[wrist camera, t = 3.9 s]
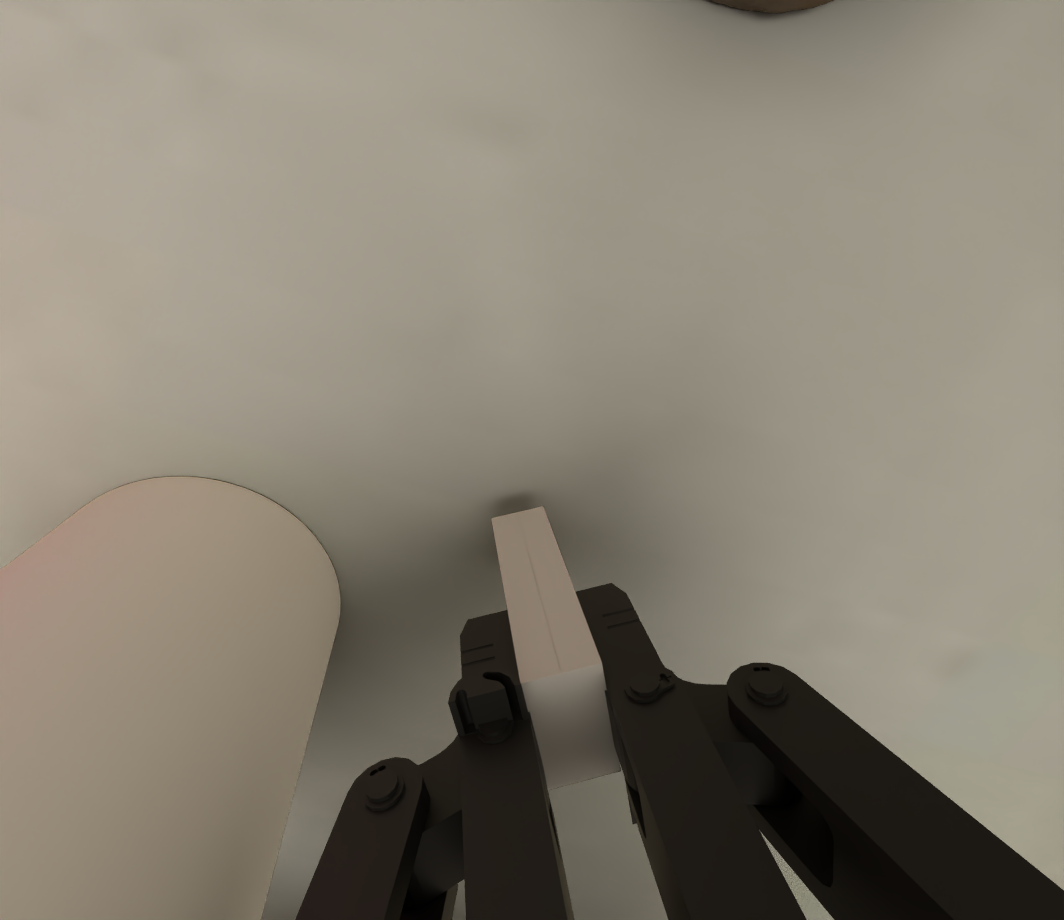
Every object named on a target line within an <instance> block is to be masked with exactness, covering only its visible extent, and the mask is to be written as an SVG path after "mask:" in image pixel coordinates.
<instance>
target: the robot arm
mask: <svg viewBox="0 0 1064 920" xmlns="http://www.w3.org/2000/svg"><path fill="white" fill-rule="evenodd" d="M491 520H492V525H493V531H494V537H495V542H496V548H497V554H498V559H499V565H500V571H501V576H502V582H503V588H504V593H505V599H506V605H507V610H505V611H501V612H497V613H493V614H489V615H485V616H481V617H477V618H473V619H468V621H467V623H466V625H465V627H464V629H463V631H462V633H461V635H460V646H461V665H462V679H461V680H459V681H458V682H457V684H456V685H455V687H454V688H453V689H452V691H451V693H450V697H449V702H448V704H449V707H450V710H451V713H452V716H453V720H454V723H455V726H456V729H457V732H458V735H457V737H456V738H455V740H454V741H453V742H452V743H451V744H450V745H449V746H448V747H447V748H446V749H445V750H444V751H442V752H441V753H439V754H438V755H436V756H435V757H433V758H431V759H429V760H428V761H426V762H424V763H422V764H420V765H419V766H418V765H417V764H415V763H414V762H412V761H411V760H409V759H406V758H398V757H395V758H390V759H386V760H382V761H380V762H378V763H376V764H374V765H372V766H371V767H369V768H367V769H366V770H365V771H364V772H363V773H362V774H361V775H360V776H359V777H358V778H357V779H356V780H355V781H354V783H353V785H352V786H351V788H350V790H349V791H348V793H347V796H346V798H345V800H344V803H343V805H342V808H341V810H340V813H339V815H338V817H337V820H336V822H335V825H334V827H333V830H332V832H331V834H330V837H329V839H328V842H327V844H326V847H325V849H324V852H323V854H322V856H321V859H320V861H319V864H318V866H317V869H316V871H315V873H314V876H313V878H312V881H311V883H310V886H309V888H308V890H307V893H306V895H305V898H304V900H303V903H302V905H301V907H300V910H299V912H298V915H297V917H296V920H452V916H453V911H454V906H455V900H456V895H457V890H458V883H459V882H460V881H462V880H463V879H465V903H466V920H574V916H573V911H572V905H571V900H570V895H569V890H568V885H567V880H566V875H565V870H564V865H563V860H562V855H561V850H560V845H559V840H558V834H557V829H556V824H555V819H554V815H553V811H552V807H551V803H550V798H549V793H548V790H552V789H555V788H559V787H563V786H567V785H570V784H574V783H578V782H582V781H585V780H589V779H593V778H597V777H600V776H604V775H608V774H612V773H615V772H619V771H621V768H622V771H623V773H624V776H625V782H626V788H627V793H628V799H629V805H630V811H631V816H632V822H633V824H636V823H637V825H638V828H639V831H640V834H641V837H642V841H643V844H644V847H645V850H646V853H647V856H648V859H649V862H650V865H651V868H652V871H653V874H654V877H655V880H656V883H657V886H658V889H659V892H660V895H661V898H662V901H663V904H664V907H665V910H666V913H667V916H668V919H669V920H806V918H805V916H804V914H803V912H802V910H801V908H800V906H799V904H798V903H797V901H796V899H795V897H794V895H793V893H792V891H791V889H790V887H789V886H788V884H787V882H786V880H785V878H784V876H783V874H782V872H781V871H780V869H779V867H778V865H777V863H776V861H775V859H774V857H773V855H772V854H771V852H770V850H769V848H768V846H767V844H766V842H765V840H764V838H763V837H762V835H761V833H760V831H761V832H762V834H763V835H764V836H765V837H766V838H767V840H768V841H769V842H770V843H771V844H772V846H773V847H774V848H775V849H776V850H777V852H778V853H779V854H780V855H781V856H782V858H783V859H784V860H785V861H786V862H787V864H788V865H789V866H790V867H791V868H792V869H793V871H794V872H795V873H796V874H797V875H798V877H799V878H800V879H801V880H802V881H803V883H804V884H805V885H806V886H807V887H808V889H809V890H810V891H811V892H812V893H813V895H814V896H815V897H816V898H817V899H818V901H819V902H820V903H821V904H822V905H823V907H824V908H825V909H826V910H827V911H828V913H829V914H830V915H831V916H832V917H833V919H834V920H1064V890H1063V889H1061V888H1060V887H1059V886H1058V885H1056V884H1055V883H1054V882H1053V881H1051V880H1050V879H1049V878H1048V877H1046V876H1045V875H1044V874H1043V873H1041V872H1040V871H1039V870H1038V869H1036V868H1035V867H1034V866H1033V865H1031V864H1030V863H1029V862H1028V861H1027V860H1025V859H1024V858H1023V857H1022V856H1020V855H1019V854H1018V853H1017V852H1015V851H1014V850H1013V849H1012V848H1010V847H1009V846H1008V845H1007V844H1005V843H1004V842H1003V841H1002V840H1000V839H999V838H998V837H997V836H995V835H994V834H993V833H992V832H991V831H989V830H988V829H987V828H986V827H984V826H983V825H982V824H981V823H979V822H978V821H977V820H976V819H974V818H973V817H972V816H971V815H969V814H968V813H967V812H966V811H964V810H963V809H962V808H961V807H959V806H958V805H957V804H956V803H955V802H953V801H952V800H951V799H950V798H948V797H947V796H946V795H945V794H943V793H942V792H941V791H940V790H938V789H937V788H936V787H935V786H933V785H932V784H931V783H930V782H928V781H927V780H926V779H925V778H924V777H922V776H921V775H920V774H919V773H917V772H916V771H915V770H914V769H912V768H911V767H910V766H909V765H907V764H906V763H905V762H904V761H902V760H901V759H900V758H899V757H897V756H896V755H895V754H894V753H892V752H891V751H890V750H889V749H888V748H886V747H885V746H884V745H883V744H881V743H880V742H879V741H878V740H876V739H875V738H874V737H873V736H871V735H870V734H869V733H868V732H866V731H865V730H864V729H863V728H861V727H860V726H859V725H858V724H856V723H855V722H854V721H853V720H852V719H850V718H849V717H848V716H847V715H845V714H844V713H843V712H842V711H840V710H839V709H838V708H837V707H835V706H834V705H833V704H832V703H830V702H829V701H828V700H827V699H825V698H824V697H823V696H822V695H820V694H819V693H818V692H817V691H816V690H814V689H813V688H812V687H811V686H809V685H808V684H807V683H806V682H804V681H803V680H802V679H801V678H799V677H798V676H797V675H796V674H794V673H792V672H791V671H789V670H787V669H785V668H784V667H781V666H778V665H774V664H770V663H751V664H748V665H744V666H741V667H739V668H738V669H737V670H735V671H734V672H733V673H731V675H730V677H729V679H728V681H727V685H707V684H695V683H691V682H687V681H684V680H682V679H680V678H678V677H677V676H676V675H675V674H674V673H673V672H672V671H671V670H669V669H667V668H665V666H664V665H663V664H662V662H661V660H660V658H659V656H658V654H657V652H656V650H655V648H654V646H653V644H652V643H651V641H650V639H649V637H648V635H647V633H646V631H645V629H644V627H643V625H642V623H641V621H640V620H639V617H638V615H637V613H636V611H635V610H634V608H633V606H632V604H631V602H630V600H629V598H628V596H627V594H626V593H625V592H624V591H622V590H621V589H619V588H618V587H616V586H615V585H614V584H612V583H610V584H606V585H602V586H597V587H593V588H589V589H585V590H581V591H577V592H575V590H574V587H573V584H572V582H571V579H570V576H569V574H568V571H567V568H566V566H565V563H564V560H563V558H562V555H561V552H560V550H559V547H558V544H557V542H556V539H555V536H554V534H553V531H552V528H551V526H550V523H549V520H548V518H547V515H546V512H545V510H544V507H543V506H542V507H537V508H533V509H529V510H525V511H520V512H516V513H512V514H507V515H503V516H499V517H495V518H491ZM619 762H620V763H619ZM620 765H621V768H620ZM759 830H760V831H759Z"/></svg>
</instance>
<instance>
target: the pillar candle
mask: <svg viewBox="0 0 1064 920" xmlns="http://www.w3.org/2000/svg"><path fill="white" fill-rule="evenodd" d="M711 1H713V2H716V3H720V4H726V5H727V6H729V7H734V8H740V9H743V10H753V11H761V12H763V11H766V12H767V13H783V12H787V11H789V10H799V9H801V10H802V9H807V8H813V7H816V6H819V5H823V4H825V3H828V2H831V1H833V0H711Z"/></svg>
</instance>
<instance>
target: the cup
mask: <svg viewBox="0 0 1064 920" xmlns="http://www.w3.org/2000/svg"><path fill="white" fill-rule="evenodd" d="M340 604H341V599H340V589H339V584H338V580H337V576H336V573H335V570H334V567H333V565H332V563H331V561H330V559H329V557H328V555H327V553H326V552H325V550H324V548H323V547H322V545H321V544H320V543H319V541H318V540H317V539H316V537H315V536H314V535H313V534H312V533H311V531H310V530H309V529H308V528H307V527H306V526H305V525H304V524H303V523H302V522H301V521H299V520H298V519H297V518H296V517H295V516H294V515H292V514H291V513H290V512H288V511H287V510H286V509H284V508H283V507H281V506H280V505H278V504H276V503H275V502H273V501H272V500H270V499H268V498H266V497H264V496H262V495H260V494H258V493H255V492H253V491H251V490H248V489H246V488H243V487H240V486H237V485H234V484H230V483H226V482H222V481H218V480H213V479H206V478H199V477H184V476H182V477H161V478H152V479H147V480H142V481H137V482H133V483H130V484H127V485H123V486H121V487H118V488H116V489H113V490H111V491H109V492H107V493H105V494H103V495H101V496H99V497H97V498H95V499H94V500H92V501H91V502H89V503H88V504H86V505H85V506H83V507H82V508H81V509H80V510H78V511H77V512H76V513H74V514H73V515H72V516H70V517H69V518H68V519H66V520H65V521H64V522H63V523H61V524H60V525H59V526H57V527H56V528H55V529H53V530H52V531H51V532H49V533H48V534H47V535H45V536H44V537H43V538H42V539H40V540H39V541H38V542H36V543H35V544H34V545H32V546H31V547H30V548H28V549H27V550H26V551H25V552H23V553H22V554H21V555H19V556H18V557H17V558H15V559H14V560H13V561H11V562H10V563H9V564H8V565H6V566H5V567H4V568H2V569H1V570H0V920H261V917H262V914H263V910H264V906H265V902H266V898H267V895H268V891H269V887H270V883H271V879H272V875H273V872H274V868H275V864H276V860H277V856H278V853H279V849H280V845H281V841H282V837H283V834H284V830H285V826H286V822H287V818H288V814H289V811H290V807H291V803H292V799H293V795H294V792H295V788H296V784H297V780H298V776H299V772H300V769H301V765H302V761H303V757H304V753H305V750H306V746H307V742H308V738H309V734H310V731H311V727H312V723H313V719H314V715H315V711H316V708H317V704H318V700H319V696H320V692H321V689H322V685H323V681H324V677H325V673H326V670H327V666H328V662H329V658H330V654H331V650H332V647H333V643H334V639H335V635H336V631H337V628H338V624H339V618H340Z"/></svg>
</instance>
